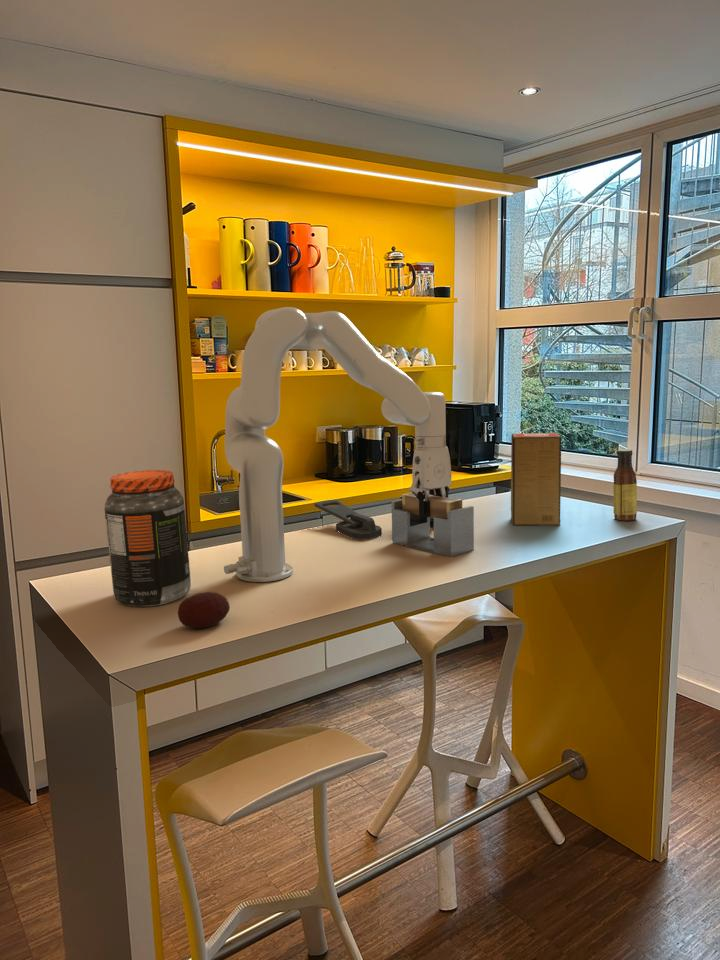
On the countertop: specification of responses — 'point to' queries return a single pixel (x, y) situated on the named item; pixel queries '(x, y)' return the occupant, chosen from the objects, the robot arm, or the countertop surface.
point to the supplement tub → (147, 538)
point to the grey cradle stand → (448, 533)
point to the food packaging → (535, 479)
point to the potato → (203, 610)
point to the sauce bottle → (625, 487)
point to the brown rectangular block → (431, 505)
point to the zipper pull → (351, 521)
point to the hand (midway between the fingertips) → (431, 513)
